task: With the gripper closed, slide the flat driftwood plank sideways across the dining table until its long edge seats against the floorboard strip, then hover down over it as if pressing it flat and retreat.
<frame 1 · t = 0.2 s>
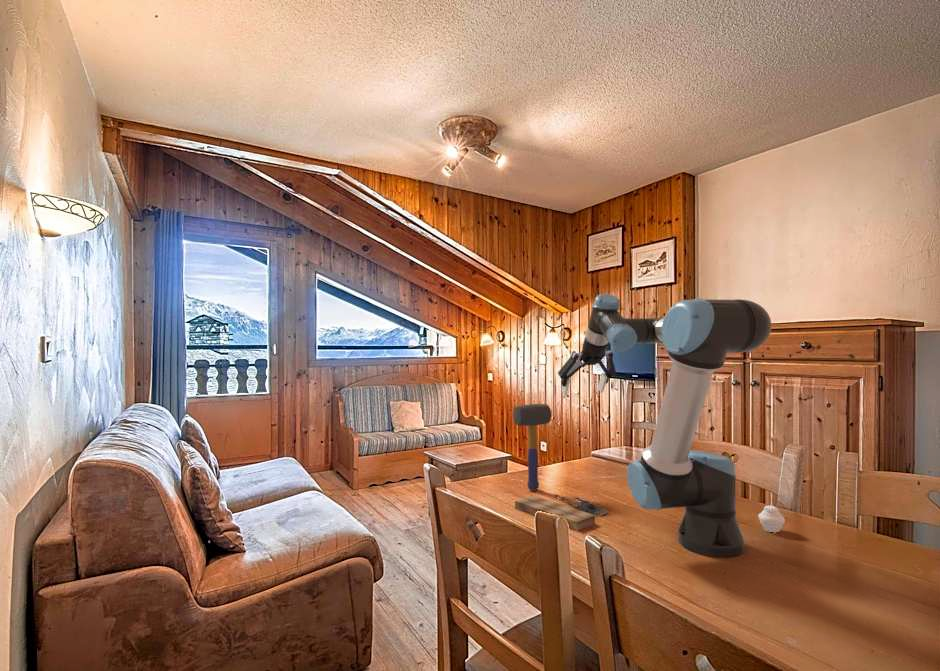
hand: (582, 391, 170), 34 cm above the table, tool tilted 35°, fingers open, 13 cm apart
floorboard: (553, 515, 147), on the table
rubber mallet: (533, 490, 172), on the table
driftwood: (582, 507, 156), on the table
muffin: (771, 531, 134), on the table
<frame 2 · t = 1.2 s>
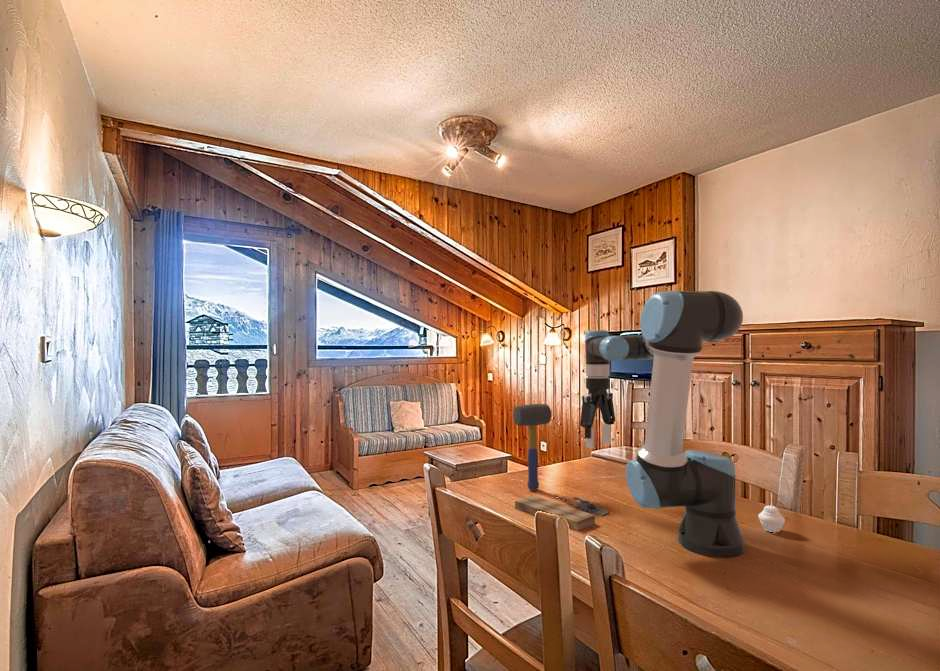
hand: (598, 445, 162), 17 cm above the table, tool pointing down, fingers open, 9 cm apart
nothing on the table moved.
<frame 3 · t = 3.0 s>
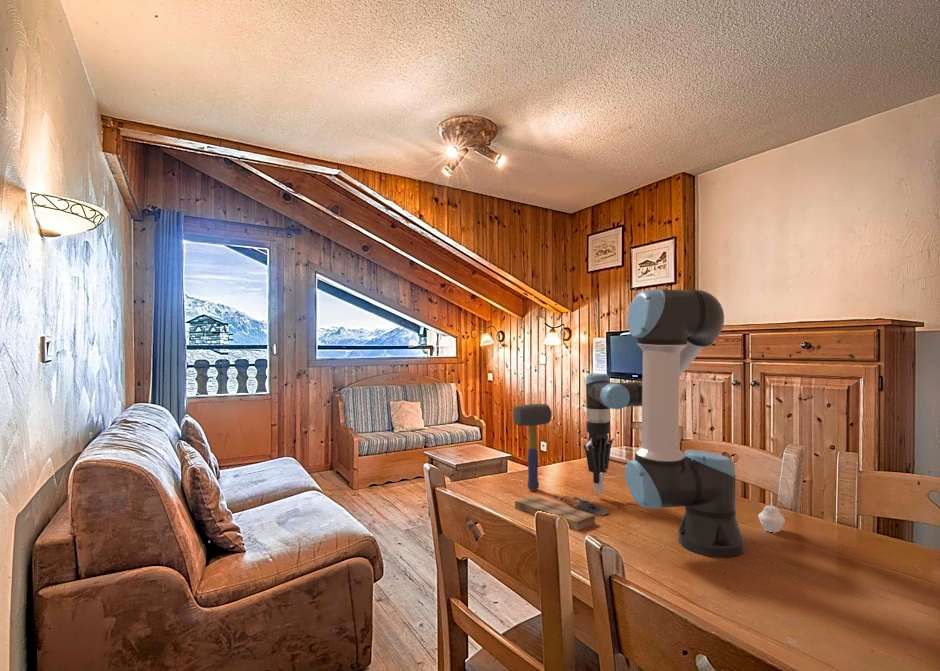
hand: (598, 492, 162), 2 cm above the table, tool pointing down, fingers closed
nothing on the table moved.
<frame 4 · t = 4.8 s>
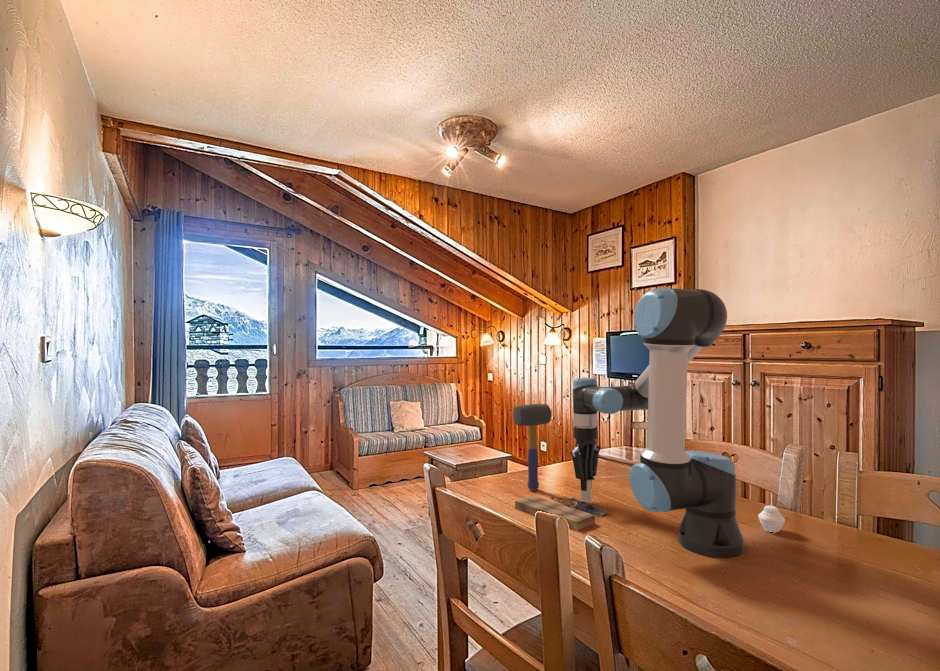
hand: (586, 499, 158), 1 cm above the table, tool pointing down, fingers closed
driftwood: (580, 508, 156), on the table, touching gripper
everything else where it was.
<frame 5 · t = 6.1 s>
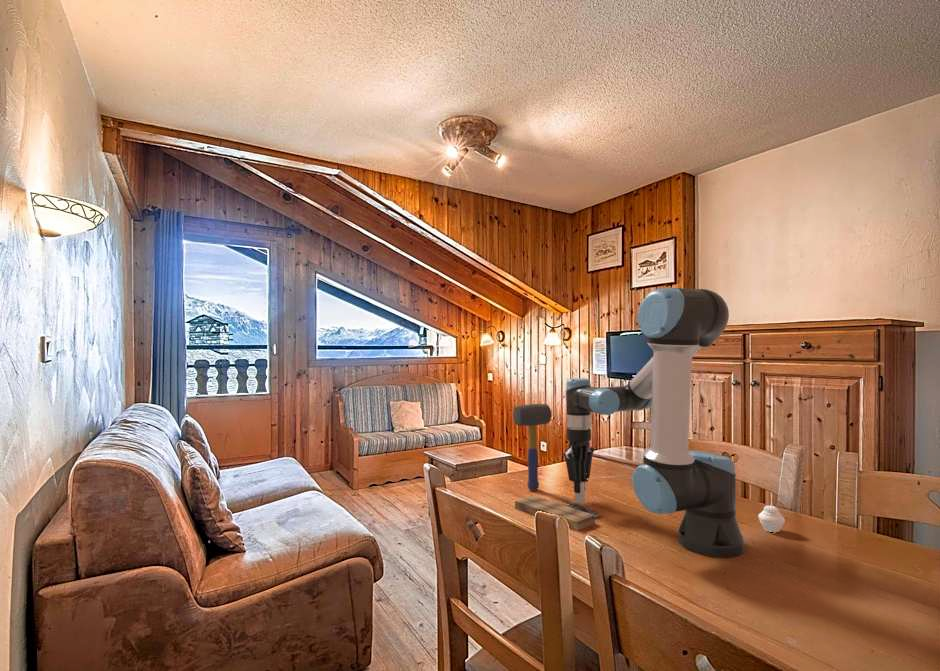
hand: (579, 502, 156), 1 cm above the table, tool pointing down, fingers closed
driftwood: (572, 510, 154), on the table
everything else where it was.
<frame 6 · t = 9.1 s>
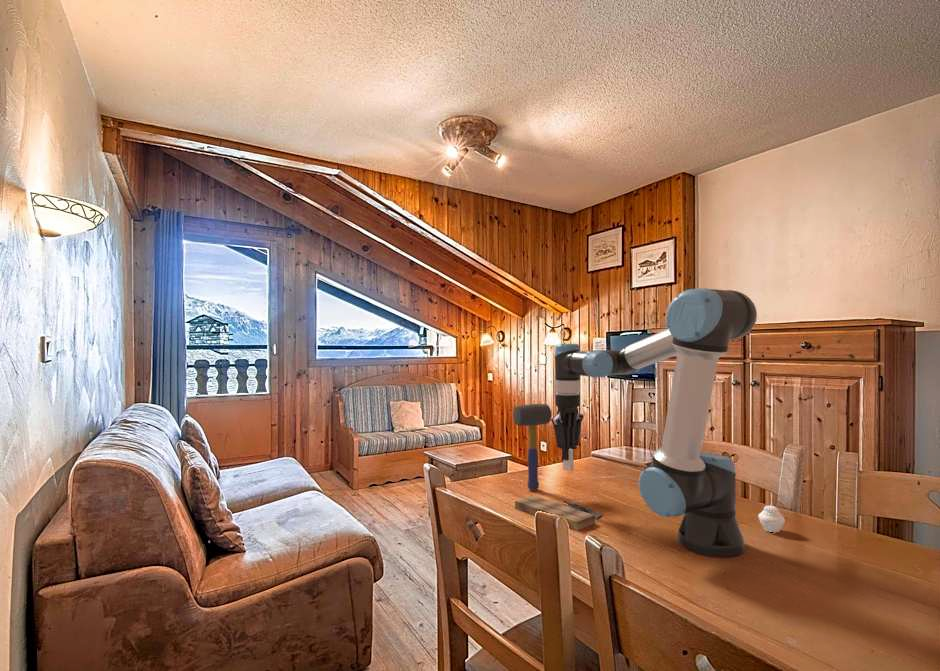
hand: (568, 469, 152), 12 cm above the table, tool pointing down, fingers closed
nothing on the table moved.
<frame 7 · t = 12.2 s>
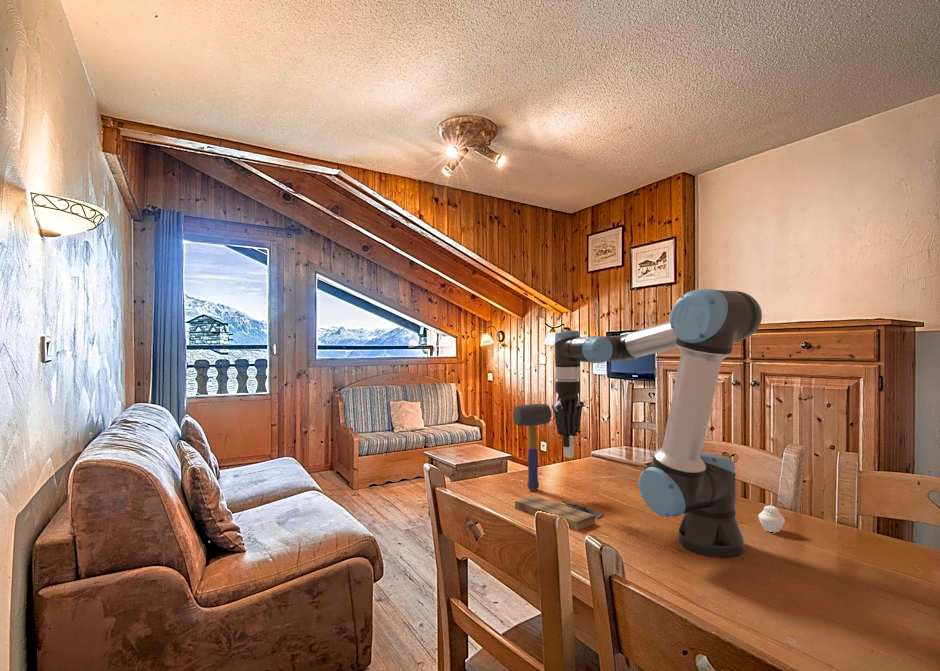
hand: (568, 456, 152), 16 cm above the table, tool pointing down, fingers closed
nothing on the table moved.
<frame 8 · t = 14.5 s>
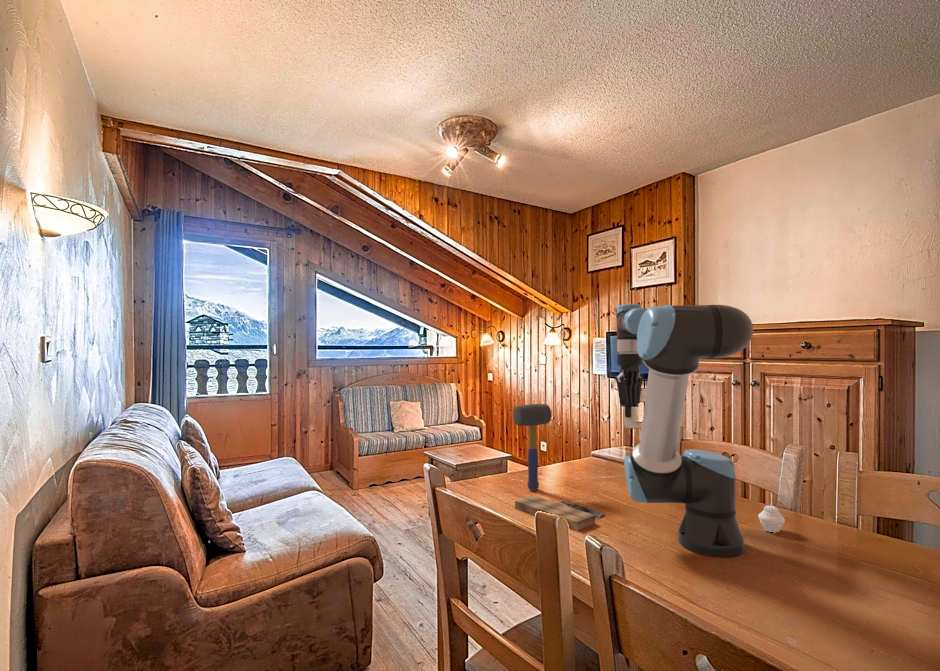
hand: (630, 427, 157), 24 cm above the table, tool pointing down, fingers closed
at the end: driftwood inside the target area (1.5 cm from its centre), on the table; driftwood moved 5.1 cm from its start; the gripper is holding nothing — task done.
